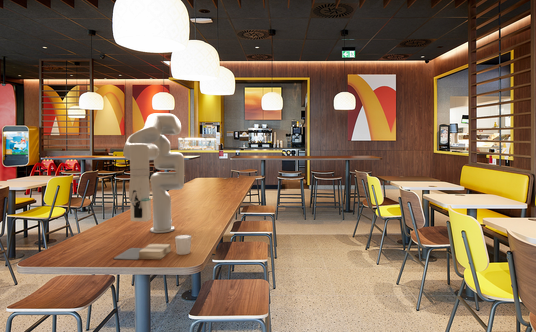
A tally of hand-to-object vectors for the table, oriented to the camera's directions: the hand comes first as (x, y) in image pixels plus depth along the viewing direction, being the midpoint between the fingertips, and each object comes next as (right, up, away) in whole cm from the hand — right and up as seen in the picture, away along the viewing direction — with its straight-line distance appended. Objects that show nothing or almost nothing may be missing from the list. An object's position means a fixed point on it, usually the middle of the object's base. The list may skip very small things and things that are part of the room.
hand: (140, 216), depth 141 cm
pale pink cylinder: (+17, -16, +3) cm, 24 cm away
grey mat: (-4, -16, +1) cm, 17 cm away
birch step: (+6, -16, 0) cm, 17 cm away
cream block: (0, -2, 0) cm, 2 cm away
